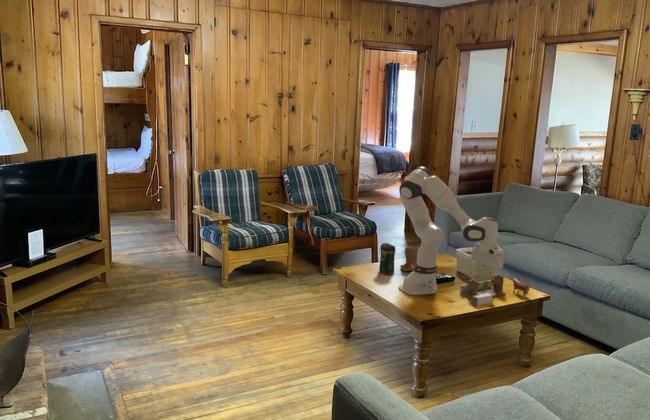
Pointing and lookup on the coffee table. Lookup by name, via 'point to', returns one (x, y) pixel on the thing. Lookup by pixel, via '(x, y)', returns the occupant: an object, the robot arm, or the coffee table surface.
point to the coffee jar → (387, 258)
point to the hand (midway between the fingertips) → (485, 272)
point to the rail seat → (483, 287)
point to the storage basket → (472, 266)
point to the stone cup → (410, 258)
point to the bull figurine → (520, 286)
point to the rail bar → (482, 299)
